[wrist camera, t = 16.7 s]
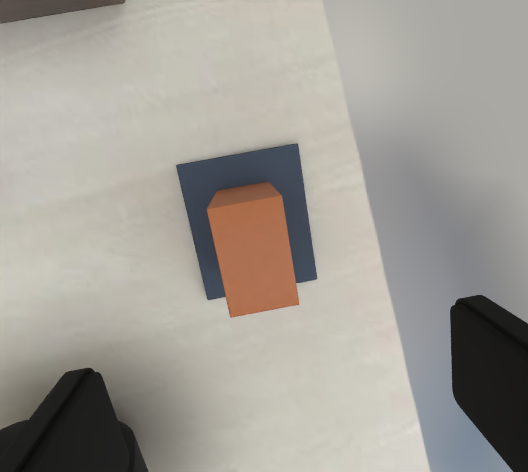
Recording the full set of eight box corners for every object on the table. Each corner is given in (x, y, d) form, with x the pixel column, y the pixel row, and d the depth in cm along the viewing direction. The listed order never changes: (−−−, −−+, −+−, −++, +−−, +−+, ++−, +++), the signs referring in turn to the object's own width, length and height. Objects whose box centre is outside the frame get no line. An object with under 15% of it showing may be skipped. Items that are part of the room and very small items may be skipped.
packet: (216, 190, 28) (206, 208, 20) (268, 181, 28) (281, 194, 20) (232, 269, 30) (230, 318, 21) (282, 260, 30) (299, 304, 22)
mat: (296, 143, 28) (297, 143, 28) (315, 277, 32) (317, 279, 31) (177, 165, 28) (176, 165, 28) (208, 297, 31) (207, 300, 31)
